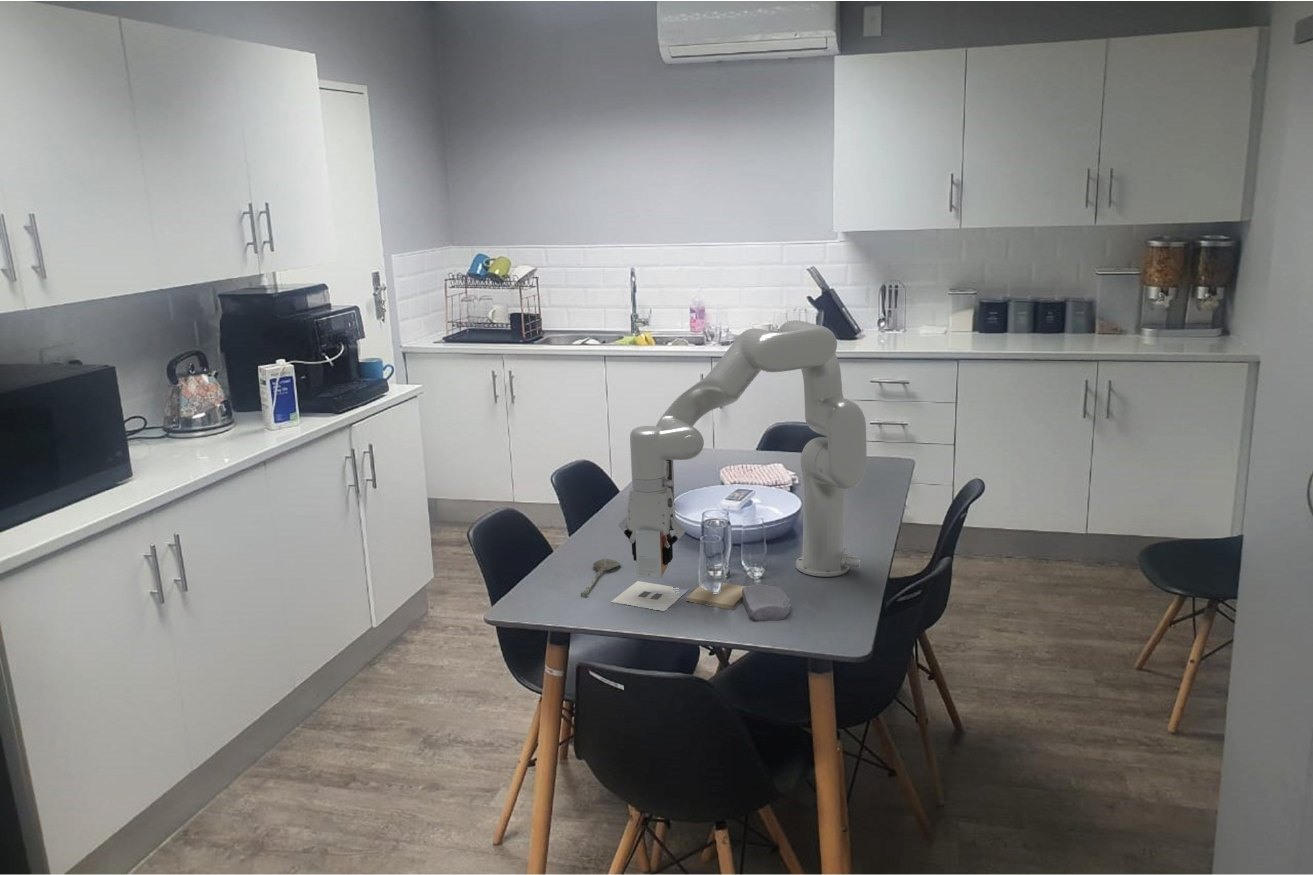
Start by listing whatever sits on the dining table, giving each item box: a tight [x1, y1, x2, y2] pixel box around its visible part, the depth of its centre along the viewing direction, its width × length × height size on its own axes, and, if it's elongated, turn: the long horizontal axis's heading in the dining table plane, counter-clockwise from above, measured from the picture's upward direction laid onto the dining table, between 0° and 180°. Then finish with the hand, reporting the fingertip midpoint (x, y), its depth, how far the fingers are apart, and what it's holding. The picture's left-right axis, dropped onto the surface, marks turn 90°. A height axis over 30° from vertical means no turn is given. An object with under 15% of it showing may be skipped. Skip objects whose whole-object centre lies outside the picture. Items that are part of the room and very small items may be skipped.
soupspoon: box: [580, 558, 622, 598], centre depth 230 cm, size 22×3×7 cm
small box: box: [635, 529, 669, 579], centre depth 217 cm, size 8×6×10 cm
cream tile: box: [610, 580, 682, 612], centre depth 220 cm, size 13×13×1 cm
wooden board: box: [685, 582, 746, 611], centre depth 219 cm, size 11×11×1 cm
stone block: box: [741, 583, 792, 622], centre depth 212 cm, size 12×5×10 cm
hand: (652, 560), depth 218 cm, fingers closed on small box, 6 cm apart
